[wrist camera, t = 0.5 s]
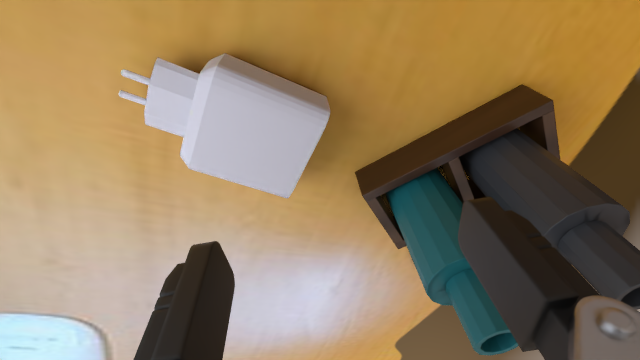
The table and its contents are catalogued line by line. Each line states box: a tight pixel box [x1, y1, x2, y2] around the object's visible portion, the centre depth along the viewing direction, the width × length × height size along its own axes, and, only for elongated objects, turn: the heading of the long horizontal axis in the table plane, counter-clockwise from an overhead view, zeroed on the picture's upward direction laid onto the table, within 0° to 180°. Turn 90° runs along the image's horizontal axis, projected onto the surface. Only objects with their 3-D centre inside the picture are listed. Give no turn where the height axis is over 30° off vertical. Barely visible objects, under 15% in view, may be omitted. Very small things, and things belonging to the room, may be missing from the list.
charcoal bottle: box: [459, 128, 640, 310], centre depth 25 cm, size 6×6×18 cm
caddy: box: [355, 85, 560, 249], centre depth 31 cm, size 9×17×4 cm, turn 121°
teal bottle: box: [385, 168, 519, 355], centre depth 26 cm, size 6×6×18 cm
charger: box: [119, 53, 330, 198], centre depth 25 cm, size 5×9×15 cm
